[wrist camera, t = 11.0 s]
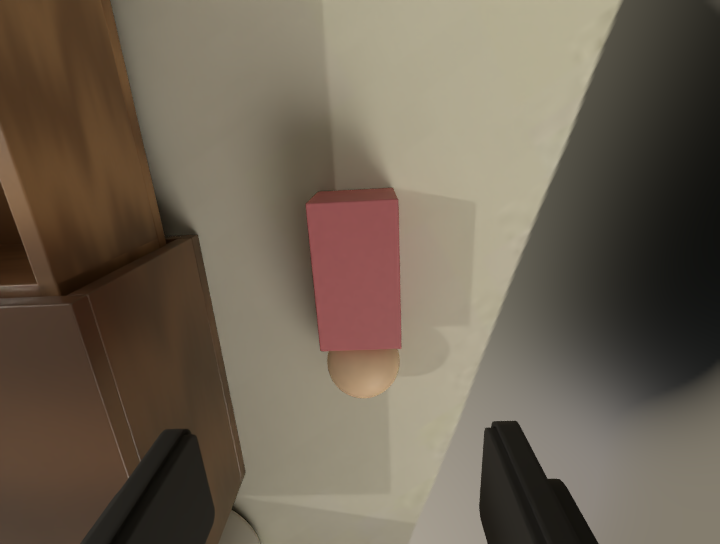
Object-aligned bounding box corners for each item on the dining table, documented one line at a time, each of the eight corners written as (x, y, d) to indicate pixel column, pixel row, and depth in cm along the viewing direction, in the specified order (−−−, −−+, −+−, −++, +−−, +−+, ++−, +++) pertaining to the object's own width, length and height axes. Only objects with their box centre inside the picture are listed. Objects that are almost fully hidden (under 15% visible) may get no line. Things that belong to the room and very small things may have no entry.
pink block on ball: (317, 191, 23) (304, 203, 19) (393, 187, 23) (398, 198, 18) (333, 371, 27) (326, 415, 23) (397, 369, 27) (402, 413, 23)
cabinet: (-23, 244, 25) (-301, 318, 14) (198, 234, 24) (69, 303, 14) (70, 475, 31) (-77, 638, 21) (245, 472, 31) (182, 638, 20)
